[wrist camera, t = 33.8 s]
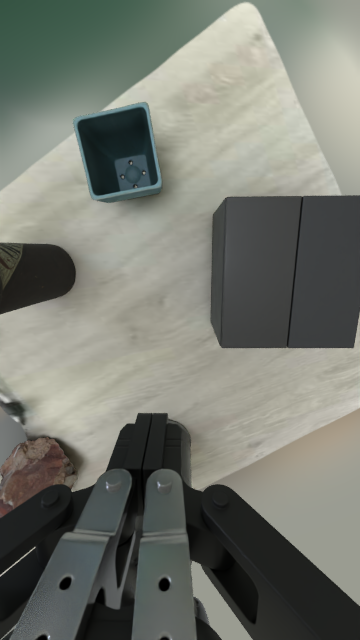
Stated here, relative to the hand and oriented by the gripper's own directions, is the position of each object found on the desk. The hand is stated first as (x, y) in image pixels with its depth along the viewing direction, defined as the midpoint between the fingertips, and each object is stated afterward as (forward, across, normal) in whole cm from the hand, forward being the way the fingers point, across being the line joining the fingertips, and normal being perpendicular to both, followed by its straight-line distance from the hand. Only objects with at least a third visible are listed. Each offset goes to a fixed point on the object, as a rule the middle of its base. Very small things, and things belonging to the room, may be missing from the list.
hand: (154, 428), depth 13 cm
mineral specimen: (+31, -26, -32) cm, 52 cm away
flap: (+19, +10, +6) cm, 22 cm away
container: (+31, -20, +6) cm, 38 cm away
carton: (+31, +14, +6) cm, 35 cm away
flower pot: (+31, -6, +20) cm, 38 cm away
